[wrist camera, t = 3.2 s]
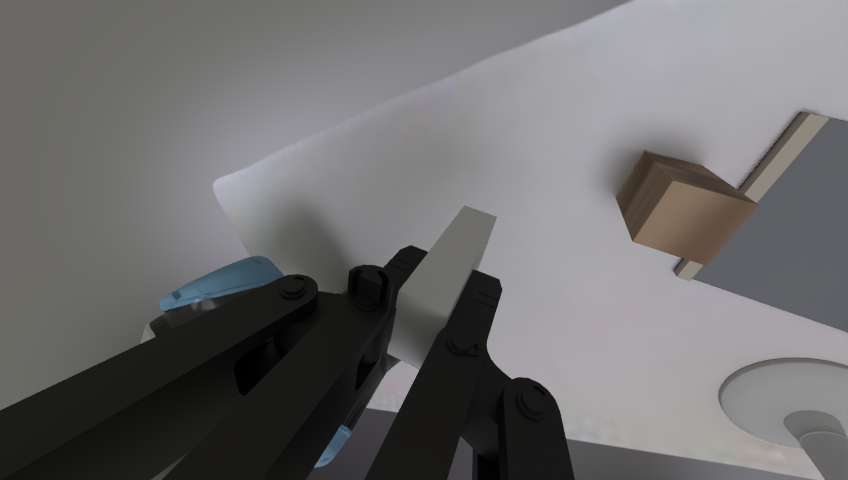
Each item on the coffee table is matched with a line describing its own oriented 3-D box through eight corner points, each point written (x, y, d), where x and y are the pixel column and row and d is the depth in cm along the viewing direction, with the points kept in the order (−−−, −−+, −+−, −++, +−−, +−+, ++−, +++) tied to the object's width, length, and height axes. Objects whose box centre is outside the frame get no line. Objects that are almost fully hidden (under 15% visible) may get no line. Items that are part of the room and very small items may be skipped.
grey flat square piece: (673, 270, 33) (680, 283, 31) (800, 111, 24) (821, 115, 22) (859, 334, 29) (881, 353, 27) (1088, 174, 20) (1144, 185, 18)
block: (615, 197, 32) (632, 241, 23) (643, 150, 29) (673, 180, 21) (668, 214, 30) (705, 265, 22) (702, 165, 28) (758, 204, 20)
